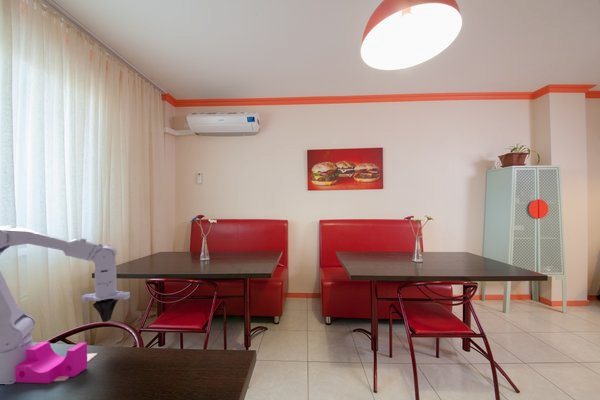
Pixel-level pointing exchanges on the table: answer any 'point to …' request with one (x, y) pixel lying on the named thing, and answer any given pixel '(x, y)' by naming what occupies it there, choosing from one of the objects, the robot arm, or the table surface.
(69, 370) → the toy block
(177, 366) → the table surface
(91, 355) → the pale mat
